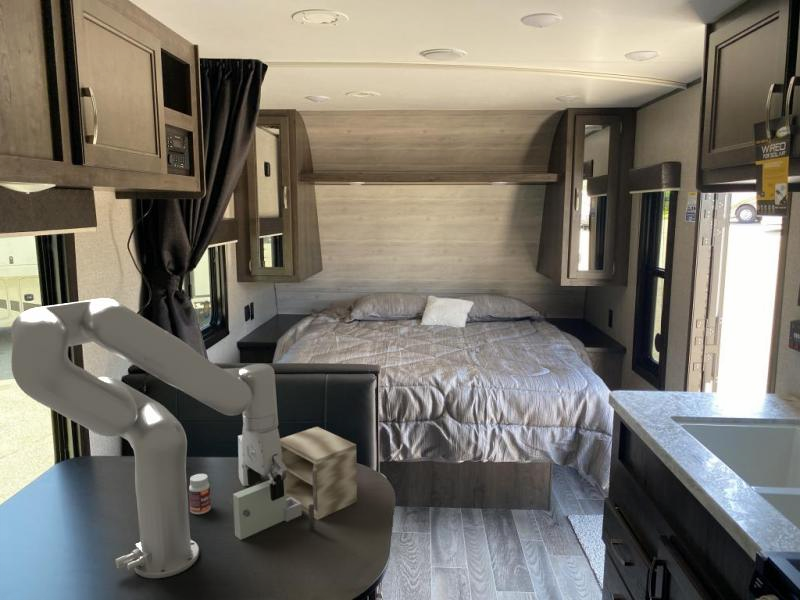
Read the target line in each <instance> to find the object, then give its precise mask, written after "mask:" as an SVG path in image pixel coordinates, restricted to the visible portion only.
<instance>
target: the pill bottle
mask: <svg viewBox="0 0 800 600" xmlns="http://www.w3.org/2000/svg"><path fill="white" fill-rule="evenodd" d="M208 476H209V475H207V474H206V473H197V474H194V475H191V476H190V478H189V483H190V484H189V488H188V494H189V497H188V498H189V511H190V512H191V514H192V515H203V514H205V513H208V512H210V510H211V508H212V504H211V502H212V501H211V486H210V483H209V477H208Z"/></svg>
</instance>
